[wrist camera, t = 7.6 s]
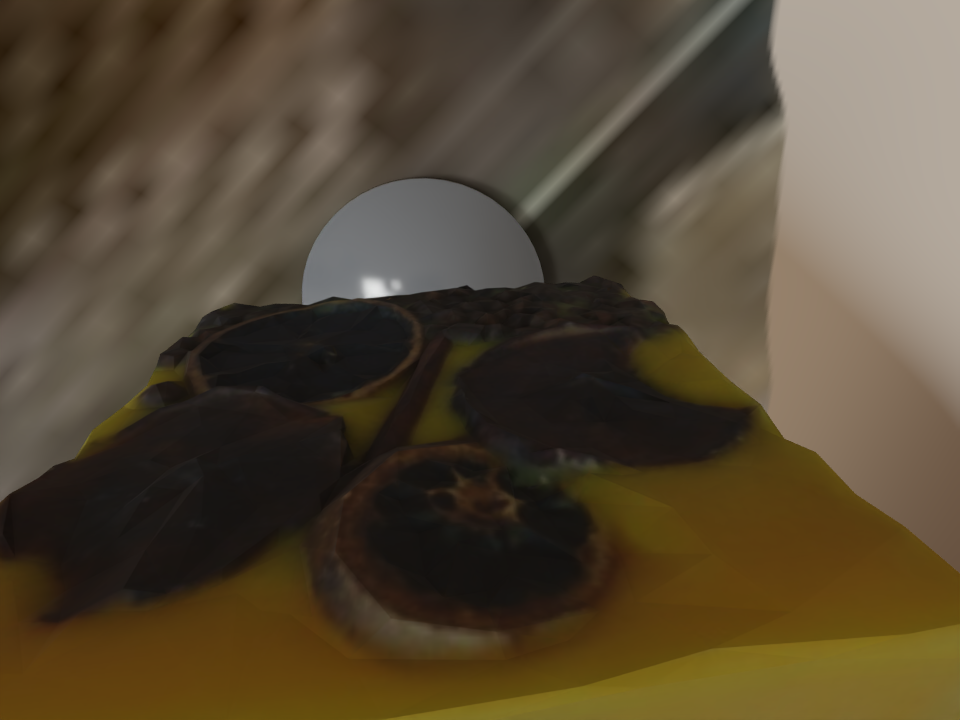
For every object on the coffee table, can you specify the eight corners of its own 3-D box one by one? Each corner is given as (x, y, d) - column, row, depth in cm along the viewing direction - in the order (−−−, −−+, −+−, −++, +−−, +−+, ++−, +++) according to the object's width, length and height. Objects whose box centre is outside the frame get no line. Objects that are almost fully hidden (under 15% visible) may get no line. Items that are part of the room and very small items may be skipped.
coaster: (315, 405, 29) (313, 411, 28) (291, 172, 24) (288, 174, 23) (531, 402, 30) (534, 407, 30) (553, 182, 25) (556, 183, 24)
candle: (606, 568, 17) (809, 1063, 8) (293, 608, 17) (143, 1196, 8) (625, 264, 13) (1101, 618, 4) (200, 301, 12) (-417, 833, 3)
